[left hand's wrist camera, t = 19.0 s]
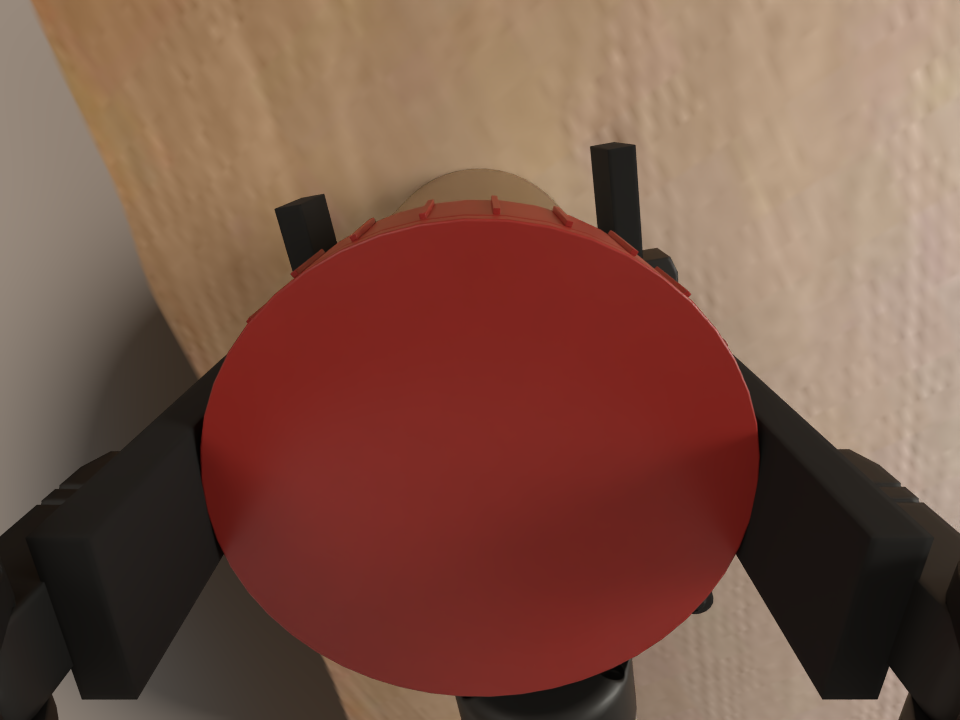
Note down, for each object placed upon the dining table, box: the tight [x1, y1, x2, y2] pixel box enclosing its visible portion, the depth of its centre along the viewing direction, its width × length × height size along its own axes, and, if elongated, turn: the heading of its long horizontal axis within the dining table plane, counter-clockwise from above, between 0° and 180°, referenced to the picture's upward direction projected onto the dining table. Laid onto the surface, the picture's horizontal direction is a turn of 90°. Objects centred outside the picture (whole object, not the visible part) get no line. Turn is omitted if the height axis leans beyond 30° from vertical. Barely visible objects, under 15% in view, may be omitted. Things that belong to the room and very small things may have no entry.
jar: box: [392, 169, 567, 215], centre depth 18 cm, size 9×9×16 cm
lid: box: [200, 195, 760, 697], centre depth 11 cm, size 10×10×2 cm
